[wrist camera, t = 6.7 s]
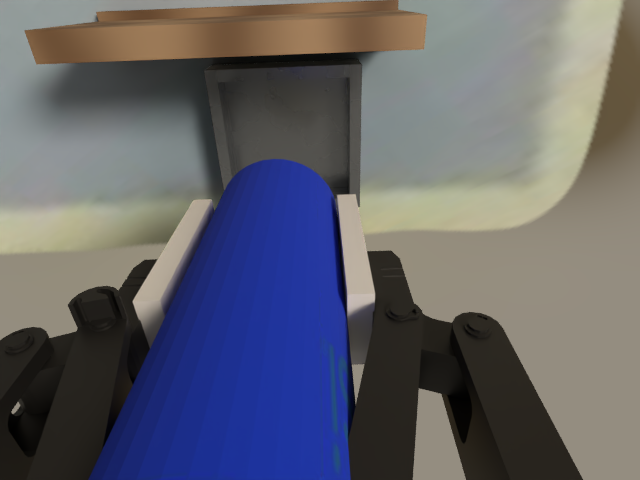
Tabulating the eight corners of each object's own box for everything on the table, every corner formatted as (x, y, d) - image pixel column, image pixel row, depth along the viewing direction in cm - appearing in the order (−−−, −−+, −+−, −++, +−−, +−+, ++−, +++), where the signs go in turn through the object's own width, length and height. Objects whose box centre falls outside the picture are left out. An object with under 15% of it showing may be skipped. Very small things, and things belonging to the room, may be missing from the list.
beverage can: (287, 272, 21) (240, 724, 8) (201, 211, 19) (-41, 666, 6) (359, 204, 19) (453, 652, 6) (271, 128, 17) (134, 538, 4)
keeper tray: (233, 196, 31) (227, 211, 29) (212, 64, 27) (203, 70, 25) (356, 192, 31) (359, 206, 29) (358, 58, 27) (361, 64, 24)
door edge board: (112, 54, 26) (40, 75, 19) (100, 11, 25) (19, 17, 18) (394, 43, 26) (422, 60, 19) (396, -1, 25) (428, 1, 18)
